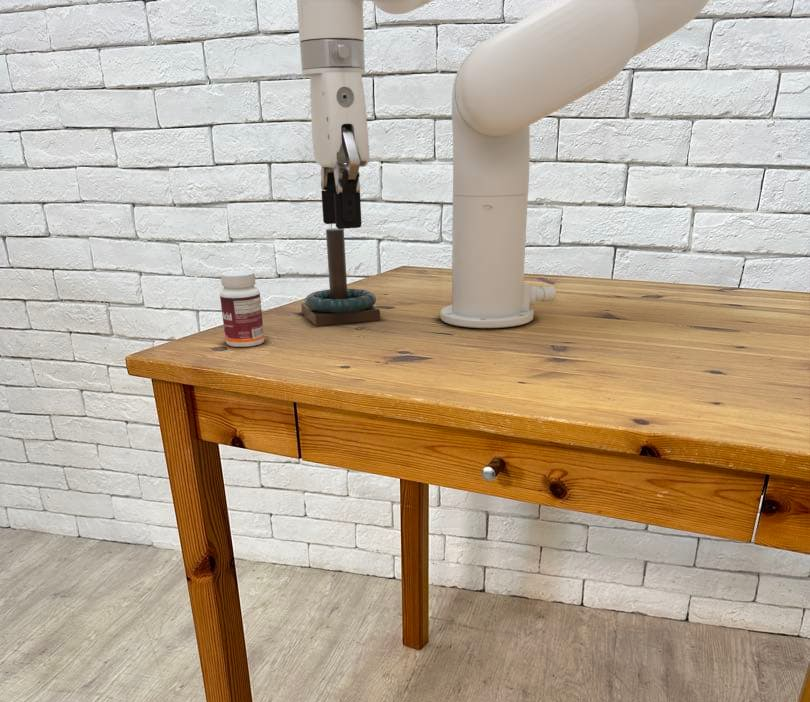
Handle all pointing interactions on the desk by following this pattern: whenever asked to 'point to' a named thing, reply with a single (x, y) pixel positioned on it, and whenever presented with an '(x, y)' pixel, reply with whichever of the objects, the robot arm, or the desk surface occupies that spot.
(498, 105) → the robot arm
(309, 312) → the post
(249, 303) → the pill bottle
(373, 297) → the ring
